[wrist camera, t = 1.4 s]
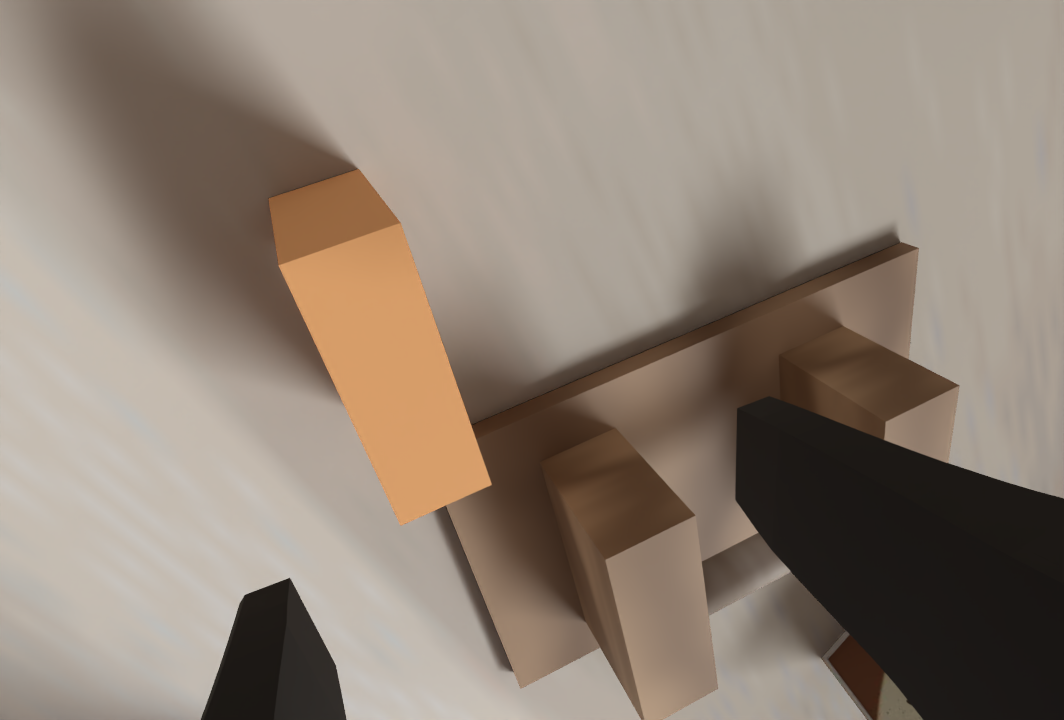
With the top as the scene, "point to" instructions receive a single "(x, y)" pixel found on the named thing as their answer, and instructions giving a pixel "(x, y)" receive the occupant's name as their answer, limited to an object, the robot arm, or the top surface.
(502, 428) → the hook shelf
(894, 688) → the food container
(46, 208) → the top surface
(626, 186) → the top surface
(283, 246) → the orange step-cut beam
